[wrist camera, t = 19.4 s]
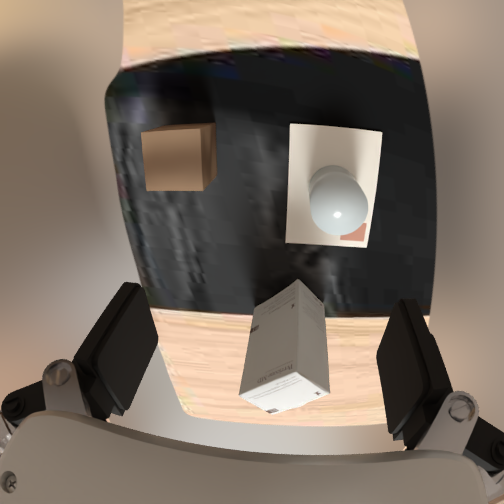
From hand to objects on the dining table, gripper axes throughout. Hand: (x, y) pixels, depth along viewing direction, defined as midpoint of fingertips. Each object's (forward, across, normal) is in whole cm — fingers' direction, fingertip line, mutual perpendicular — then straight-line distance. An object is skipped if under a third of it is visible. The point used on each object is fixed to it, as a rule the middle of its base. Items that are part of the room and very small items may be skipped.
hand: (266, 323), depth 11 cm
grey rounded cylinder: (+24, -5, +3) cm, 25 cm away
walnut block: (+25, +10, -1) cm, 27 cm away
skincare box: (+24, -1, +20) cm, 31 cm away
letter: (+24, -5, +3) cm, 25 cm away
